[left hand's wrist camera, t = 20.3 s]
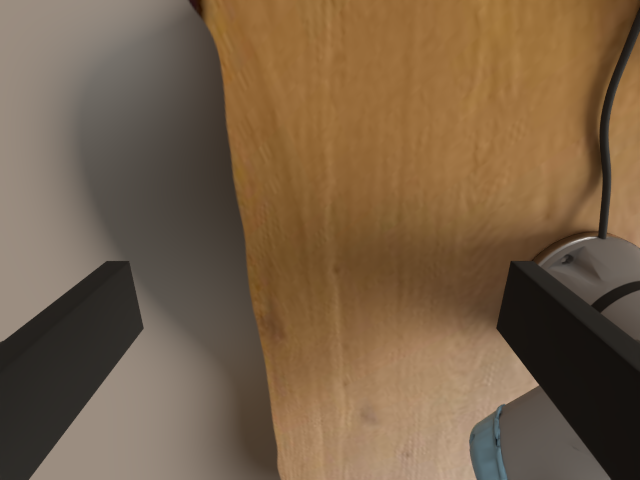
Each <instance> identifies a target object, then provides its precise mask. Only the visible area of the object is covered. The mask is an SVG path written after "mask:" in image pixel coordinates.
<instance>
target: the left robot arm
mask: <svg viewBox="0 0 640 480" xmlns="http://www.w3.org/2000/svg"><path fill="white" fill-rule="evenodd" d="M639 32H640V8H639V11H638V13H637V15H636V18H635V20H634V23H633V25H632V28H631V30H630V33H629V35H628V38H627V40H626V43H625V45H624V48H623V50H622V53H621V55H620V58H619V60H618V63H617V65H616V68H615V70H614V73H613V75H612V78H611V81H610V84H609V87H608V90H607V93H606V97H605V100H604V105H603V109H602V115H601V122H600V152H601V161H602V173H603V187H602V201H601V211H600V222H599V232H587V233H581V234H576V235H573V236H569V237H567V238H564V239H562V240H560V241H558V242H556V243H554V244H552V245H550V246H549V247H548V248H546V249H545V250H543V251H542V252H541V253H540V254H539V255H538V256H537V257H535V258H534V260H533V261H511V263H510V268H509V273H508V277H507V282H506V286H505V291H504V296H503V300H502V305H501V309H500V314H499V319H498V323H497V328H496V329H497V330H498V331H499V332H500V334H501V335H502V336H503V338H504V339H505V340H506V342H507V343H508V344H509V346H510V347H511V348H512V350H513V351H514V352H515V354H516V355H517V356H518V357H519V359H520V360H521V361H522V363H523V364H524V365H525V367H526V368H527V369H528V371H529V372H530V373H531V375H532V376H533V377H534V379H535V380H536V381H537V383H538V384H539V386H538V387H536V388H534V389H532V390H531V391H529V392H527V393H526V394H524V395H522V396H520V397H519V398H517V399H515V400H514V401H512V402H510V403H508V404H506V405H505V404H503V405H501V406H499V407H498V408H497V410H496V411H495V412H493V413H492V414H490V415H489V416H488V417H486V418H485V419H483V420H482V421H480V422H479V423H477V424H476V425H475V426H474V428H473V429H472V431H471V434H470V440H469V444H470V456H471V461H472V465H473V469H474V472H475V476H476V479H477V480H640V248H638V247H637V246H636V245H634V244H632V243H630V242H628V241H626V240H624V239H622V238H620V237H618V236H615V235H612V234H608V233H607V225H608V215H609V204H610V194H611V163H610V153H609V140H608V132H609V120H610V114H611V109H612V104H613V100H614V96H615V93H616V90H617V87H618V84H619V81H620V78H621V76H622V73H623V71H624V68H625V66H626V64H627V61H628V59H629V56H630V54H631V51H632V49H633V47H634V44H635V42H636V39H637V37H638V34H639ZM142 330H143V323H142V319H141V314H140V309H139V305H138V300H137V296H136V291H135V286H134V282H133V277H132V273H131V268H130V263H129V261H106V262H105V263H104V264H103V265H101V266H100V267H99V268H97V269H96V270H95V271H93V272H92V273H91V274H90V275H88V276H87V277H86V278H84V279H83V280H82V281H80V282H79V283H78V284H77V285H75V286H74V287H73V288H72V289H70V290H69V291H68V292H66V293H65V294H64V295H62V296H61V297H60V298H59V299H57V300H56V301H55V302H53V303H52V304H51V305H50V306H48V307H47V308H46V309H44V310H43V311H42V312H40V313H39V314H38V315H37V316H35V317H34V318H33V319H31V320H30V321H29V322H28V323H26V324H25V325H24V326H22V327H21V328H20V329H18V330H17V331H16V332H15V333H13V334H12V335H11V336H9V337H8V338H7V339H6V340H4V341H2V342H0V480H29V479H30V477H31V476H32V475H33V473H34V472H35V471H36V469H37V468H38V467H39V465H40V464H41V463H42V461H43V460H44V459H45V458H46V456H47V455H48V454H49V452H50V451H51V450H52V448H53V447H54V446H55V444H56V443H57V442H58V440H59V439H60V438H61V436H62V435H63V434H64V433H65V431H66V430H67V429H68V427H69V426H70V425H71V423H72V422H73V421H74V419H75V418H76V417H77V415H78V414H79V413H80V411H81V410H82V409H83V408H84V406H85V405H86V403H87V402H88V401H89V400H90V398H91V397H92V396H93V394H94V393H95V392H96V390H97V389H98V388H99V386H100V385H101V384H102V382H103V381H104V380H105V379H106V377H107V376H108V375H109V373H110V372H111V371H112V369H113V368H114V367H115V365H116V364H117V363H118V361H119V360H120V359H121V357H122V356H123V355H124V354H125V352H126V351H127V350H128V348H129V347H130V346H131V344H132V343H133V342H134V340H135V339H136V338H137V336H138V335H139V334H140V332H141V331H142Z"/></svg>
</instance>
